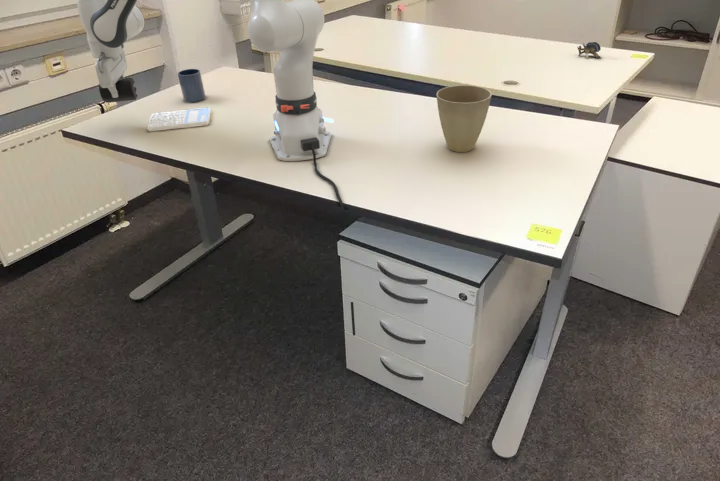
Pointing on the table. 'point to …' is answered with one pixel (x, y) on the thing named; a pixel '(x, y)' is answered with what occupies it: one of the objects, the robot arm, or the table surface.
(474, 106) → the plant pot
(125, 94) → the end cap
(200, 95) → the pen cup
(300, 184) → the table surface
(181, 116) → the calculator
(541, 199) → the table surface
